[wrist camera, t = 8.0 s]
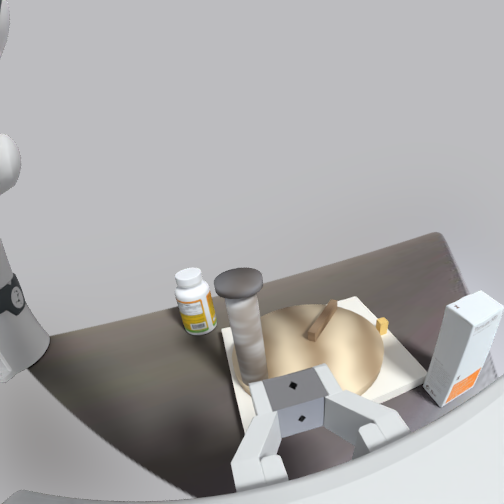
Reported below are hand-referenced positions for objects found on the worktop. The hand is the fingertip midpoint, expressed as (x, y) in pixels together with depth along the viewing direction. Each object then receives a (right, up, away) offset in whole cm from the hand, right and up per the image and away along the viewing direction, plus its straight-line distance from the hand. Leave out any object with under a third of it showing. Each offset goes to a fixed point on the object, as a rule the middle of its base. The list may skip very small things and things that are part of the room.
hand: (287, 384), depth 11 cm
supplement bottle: (-10, -7, +38) cm, 40 cm away
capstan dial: (+6, -8, +26) cm, 28 cm away
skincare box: (+22, -11, +18) cm, 31 cm away
